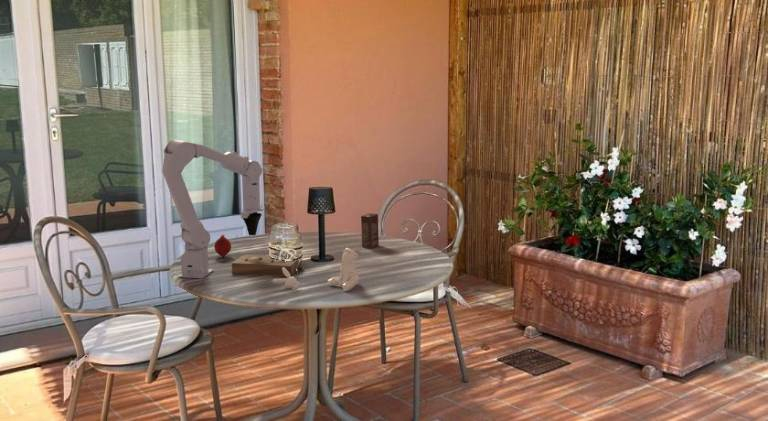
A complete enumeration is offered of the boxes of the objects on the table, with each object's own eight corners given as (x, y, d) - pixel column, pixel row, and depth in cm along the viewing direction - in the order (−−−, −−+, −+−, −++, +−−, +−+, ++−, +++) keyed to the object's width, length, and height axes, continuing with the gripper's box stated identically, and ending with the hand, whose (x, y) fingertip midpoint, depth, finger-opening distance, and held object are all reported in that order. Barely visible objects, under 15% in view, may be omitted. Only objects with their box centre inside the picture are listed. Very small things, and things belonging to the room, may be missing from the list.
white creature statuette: (325, 285, 242) (325, 248, 240) (346, 279, 248) (346, 243, 246) (346, 291, 236) (345, 253, 233) (366, 286, 242) (366, 248, 239)
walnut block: (290, 276, 252) (290, 266, 251) (232, 273, 256) (231, 262, 255) (300, 267, 262) (300, 257, 262) (244, 264, 266) (243, 254, 265)
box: (368, 243, 295) (368, 212, 293) (379, 245, 293) (378, 213, 291) (360, 247, 290) (360, 215, 288) (371, 248, 288) (371, 216, 286)
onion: (229, 259, 273) (228, 236, 272) (213, 258, 273) (212, 236, 272) (233, 254, 279) (232, 233, 278) (217, 254, 279) (216, 232, 278)
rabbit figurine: (290, 291, 236) (270, 277, 238) (290, 298, 239) (270, 284, 241) (303, 278, 239) (282, 264, 241) (303, 284, 242) (283, 270, 244)
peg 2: (283, 271, 256) (283, 262, 255) (272, 270, 257) (271, 261, 256) (287, 268, 260) (287, 258, 259) (275, 267, 260) (275, 258, 260)
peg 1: (257, 270, 257) (257, 260, 257) (246, 269, 258) (245, 260, 258) (261, 266, 261) (261, 257, 261) (250, 266, 262) (249, 257, 261)
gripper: (254, 199, 254) (255, 240, 257) (269, 192, 268) (270, 230, 271) (234, 198, 256) (235, 239, 259) (250, 191, 270) (251, 229, 272)
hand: (252, 234), depth 265 cm, fingers closed
